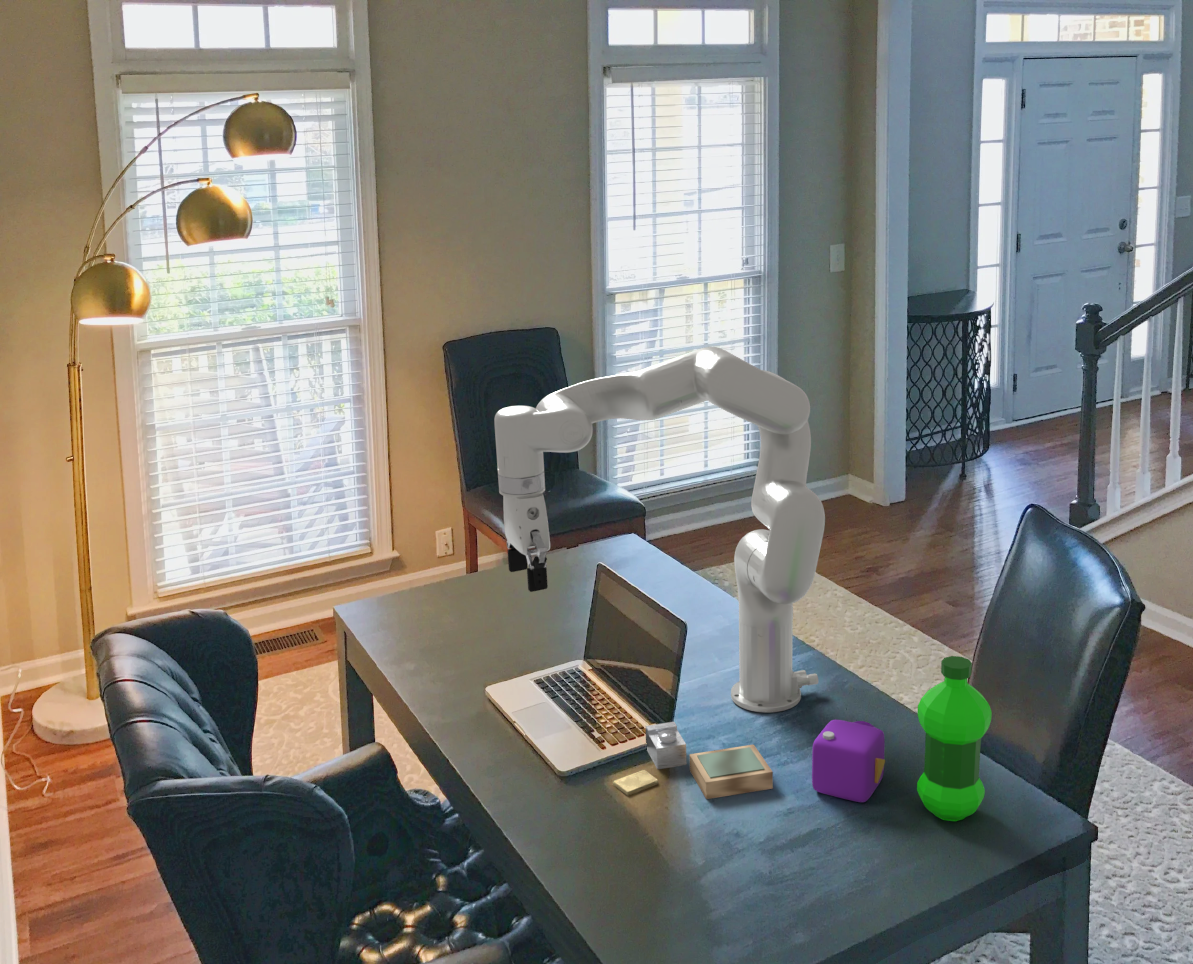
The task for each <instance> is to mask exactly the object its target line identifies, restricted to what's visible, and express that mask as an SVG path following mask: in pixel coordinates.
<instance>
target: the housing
mask: <svg viewBox="0 0 1193 964" xmlns="http://www.w3.org/2000/svg"><path fill="white" fill-rule="evenodd" d="M680 733H681V732H679V730H678V725H677V724H676V722H675V721H669V722H663V723H662V722H661V723H657V724H651V725H649V724H648V725H645V744H646V743H647V750H646V751H647V753H648V755H649V756H650V759H651V760H652V762H653V764H654V765H655V768H656V770H662V769H668V768H675V767H681V766H687V743H686V742H685V740H684V738H683V737H682V735H681V734H680Z"/></svg>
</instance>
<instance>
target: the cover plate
mask: <svg viewBox="0 0 1193 964" xmlns="http://www.w3.org/2000/svg"><path fill="white" fill-rule="evenodd" d="M612 783H613V787H615V788H616V789H618V790H619V791H621V792H622V793H623V794H624V795H626V796H627V797H629V796H630V795H634V794H636V793H638V792H641V791H644V790H646V789H648V788H651V787H653V786H656V785H658V784H659V780H658V778H656V777H655V776H653V775H652V774H650V773H649V772H648V771H647V770H645V769H642V770H639V771H637V772H634V773H631V774H629V775H626V776H623V777H621V778H618V779H615V780H613V781H612Z"/></svg>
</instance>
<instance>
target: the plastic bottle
mask: <svg viewBox="0 0 1193 964" xmlns="http://www.w3.org/2000/svg"><path fill="white" fill-rule="evenodd" d="M940 662H941V666H940V673H941V675H942V676H943V677H944V681H941V682H940V683H938V684H936V685H934V686H933V687H931V688H930V689H928V690H927V691H926V692H925V694H923V696H922V697H921V698H920V701H919V702H918V705H917V717H918V722H919V724H920V726H921V727H922V730H923V731H924V732H925V744H924V766H923V767H924V768H923V772H922V774H921V775H920V776H919V778H918V780H917V782H916V791H917V793H918V797H919V798H920V800H921V802H922V803H923V806H924V807H925V809H926V810H928V811H929V812H930V813H932V814H933V815H934V816H935V817H937V818H938V819H941V820H943V821H948V822H949V821H950V822H957V821H962V820H965V818H967V817H969V816H971V815H973V814H975V812H977V810H978V808H980V807H979V806H980V805H981V804H982V801H983V800H984V798H985V793H986V789H985V787H984V784H983V781H982V780H981V778H980V761H981V746H982V745H981V743H982V738H983V737H984V736H985V734H986V733H987V731H988V730H989V728H990V725H991V721H992V715H993V714H992V709H991V706H990V704H989V702H988V701H987V700H986V698H985V697H984V695H983V694H982V693H981V692H980V691H978V690H977V689H976V688H975V687H973V685H971V684H969V683H968V679H969V678H970V677H971V676H972V674H973V673H972V672H973V671H972V668H973V663H972V661H971V660H970V659H968V658H966V657H964V656H957V655H956V656H955V655H949V656H946V657H944V658H943V659H942V660H941V661H940Z"/></svg>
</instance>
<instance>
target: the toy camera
mask: <svg viewBox="0 0 1193 964" xmlns="http://www.w3.org/2000/svg"><path fill="white" fill-rule="evenodd" d="M885 740H886V739H885V734H884V731H883V730H882V729H880V728H878V727H875V725H873V724H872V723H870V722H867V721H864V720H857V721H847V720H843V719H832V720H830V721H828V723H827V724H826V725H825V727H824V728H823V729H822V730H821V732H820V733H819V734H818V735H817V737H816V738H815V739H814V741H813V743H812V748H811V749H812V752H811V753H812V754H811V784H812V788H813V790H814V791H816V792H817V793H820V794H824V795H828V796H831V797H835V798H840V799H844V800H846V801H847V800H848V801H852V802H856V803H857V802H858V803H865V802H867V801H869V799H870V798H871V796H872V795H873V793H874V792H875V790H876V789H877V787H878V786H879V785H880V783H881V781H882V779H883V777H884V774H885V772H884V771H885V770H884V769H885V765H886V759H885V747H886V746H885V743H886V742H885Z"/></svg>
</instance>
